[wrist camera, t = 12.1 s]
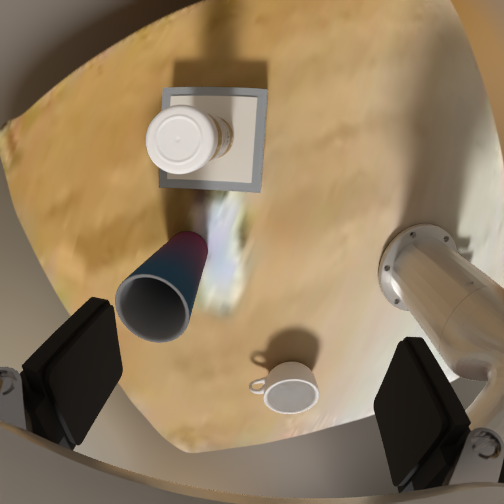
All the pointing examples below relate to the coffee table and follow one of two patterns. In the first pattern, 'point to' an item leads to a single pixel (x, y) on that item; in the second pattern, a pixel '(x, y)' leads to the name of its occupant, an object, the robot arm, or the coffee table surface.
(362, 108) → the coffee table surface
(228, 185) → the base
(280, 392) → the teacup
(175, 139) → the sprinkles bottle
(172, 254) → the cup
